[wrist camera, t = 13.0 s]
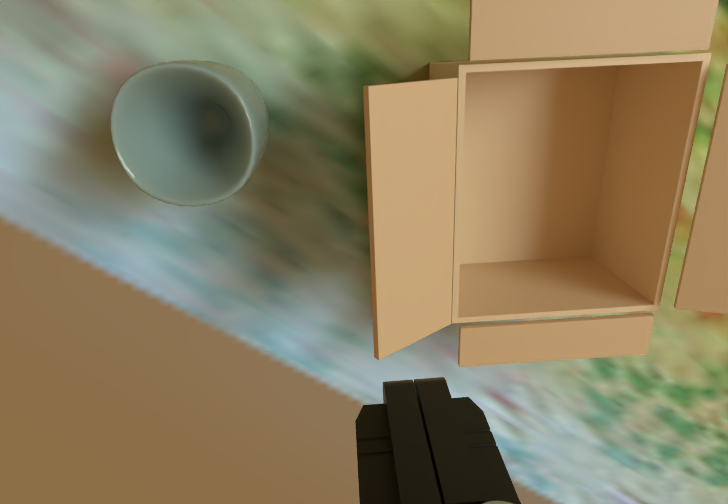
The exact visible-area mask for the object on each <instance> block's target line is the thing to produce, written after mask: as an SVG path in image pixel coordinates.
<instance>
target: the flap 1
mask: <svg viewBox="0 0 728 504" xmlns="http://www.w3.org/2000/svg"><path fill="white" fill-rule="evenodd" d="M457 85H458V78H445V79H434V80H423V81H413V82H402V83H391V84H381V85H370V86H363V98H364V121H365V145H366V169H367V192H368V216H369V240H370V264H371V287H372V311H373V335H374V357H375V358H376V359H378V360H381V359H383V358H385V357H387V356H389V355H391V354H392V353H394V352H396V351H398V350H400V349H402V348H404V347H406V346H408V345H410V344H412V343H414V342H416V341H418V340H420V339H422V338H424V337H426V336H428V335H430V334H432V333H434V332H436V331H438V330H440V329H442V328H444V327H446V326H448V325H450V324H451V311H452V274H453V236H454V198H455V161H456V123H457Z"/></svg>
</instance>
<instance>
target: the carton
mask: <svg viewBox="0 0 728 504" xmlns="http://www.w3.org/2000/svg"><path fill="white" fill-rule="evenodd" d="M718 1H719V0H470V22H469V52H468V61H457V62H436V63H429V80H434V79H445V78H458V85H457V123H456V161H455V198H454V236H453V274H452V311H451V322H452V323H465V322H481V321H496V320H511V319H526V318H542V317H557V316H572V315H587V314H603V313H618V312H633V311H648V310H659V305H660V301H661V296H662V291H663V286H664V281H665V276H666V272H667V267H668V262H669V257H670V252H671V247H672V242H673V238H674V233H675V228H676V223H677V218H678V213H679V209H680V204H681V199H682V194H683V189H684V184H685V180H686V175H687V170H688V165H689V160H690V155H691V150H692V146H693V141H694V136H695V131H696V126H697V121H698V117H699V112H700V107H701V102H702V97H703V92H704V87H705V83H706V78H707V73H708V68H709V63H710V58H711V54H712V53H641V52H662V51H683V50H703V49H709V45H710V41H711V36H712V31H713V26H714V21H715V16H716V11H717V6H718ZM620 53H630V54H620ZM599 54H603V55H599ZM578 55H582V56H578ZM557 56H561V57H557ZM537 57H540V58H537ZM516 58H520V59H516ZM495 59H499V60H495ZM474 60H478V61H474ZM653 320H654V315H653V314H651V313H642V314H627V315H612V316H596V317H581V318H566V319H551V320H536V321H520V322H505V323H490V324H475V325H459V349H458V365H459V367H465V366H480V365H495V364H509V363H524V362H538V361H553V360H568V359H582V358H597V357H611V356H626V355H641V354H647V350H648V345H649V340H650V335H651V330H652V325H653Z"/></svg>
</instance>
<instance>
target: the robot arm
mask: <svg viewBox="0 0 728 504" xmlns="http://www.w3.org/2000/svg"><path fill="white" fill-rule="evenodd" d="M383 401H384V404H373V405H363V407H362V409H361V411H360V413H359V415H358V417H357V419H356V439H357V458H358V478H359V497H360V504H521V503H520V501H519V499H518V496H517V494H516V491H515V489H514V486H513V484H512V481H511V479H510V476H509V474H508V471H507V469H506V467H505V464H504V462H503V459H502V457H501V454H500V452H499V449H498V447H497V446H496V442H495V440H494V437H493V435H492V432H490V427H489V425H488V422H487V420H486V417H485V415H484V413H483V411H482V410H481V409H480V408H479V407H478V406H477V405H476V404H475V403H474V402H473V401H472V400H471V399H470V398H469V397H462V398H451V395H450V392H449V389H448V386H447V383H446V380H445V378H444V377H440V378H427V379H414V383H413V380H402V381H389V382H383Z"/></svg>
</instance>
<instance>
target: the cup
mask: <svg viewBox="0 0 728 504" xmlns="http://www.w3.org/2000/svg"><path fill="white" fill-rule="evenodd" d="M110 129H111V137H112V142H113V146H114V149H115V152H116V155H117V158H118V160H119V162H120V164H121V166H122V168H123V170H124V171H125V172H126V174H127V175H128V177H129V178H130V179H131V181H132V182H133V183H135V184H136V185H137V186H138V187H139V188H140V189H141V190H142V191H144V192H145V193H147V194H148V195H150V196H152V197H153V198H155V199H158V200H161V201H163V202H166V203H170V204H175V205H179V206H202V205H209V204H213V203H216V202H219V201H223V200H224V199H226V198H228V197H230V196H232V195H234V194H235V193H236V192H237V191H239V190H240V189H241V188H242V187H243V186H244V185H245V184H246V183H247V182H248V181H249V179H250V178H251V176H252V175H253V173H254V172H255V170H256V169H257V167H258V166H259V164H260V163H261V161H262V159H263V156H264V154H265V151H266V148H267V145H268V140H269V134H270V126H269V115H268V109H267V106H266V103H265V101H264V98H263V96H262V94H261V92H260V91H259V89H258V87H257V86H256V85H255V84H254V83H253V81H252V80H251V79H250V78H248V77H247V76H246V75H244V74H243V73H242V72H240V71H239V70H236V69H234V68H232V67H230V66H227V65H224V64H220V63H216V62H211V61H198V60H179V61H170V62H162V63H158V64H155V65H151V66H148V67H145V68H143V69H141V70H140V71H138V72H136V73H134V74H133V75H131V76H130V77H129V78H128V79H127V80H126V81H125V82H124V83H123V84H122V85H121V87H120V88H119V90H118V92H117V94H116V96H115V98H114V101H113V105H112V109H111V118H110Z"/></svg>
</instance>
